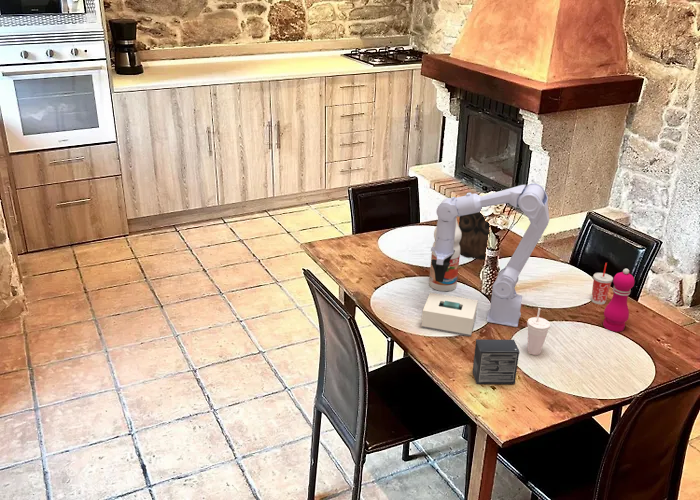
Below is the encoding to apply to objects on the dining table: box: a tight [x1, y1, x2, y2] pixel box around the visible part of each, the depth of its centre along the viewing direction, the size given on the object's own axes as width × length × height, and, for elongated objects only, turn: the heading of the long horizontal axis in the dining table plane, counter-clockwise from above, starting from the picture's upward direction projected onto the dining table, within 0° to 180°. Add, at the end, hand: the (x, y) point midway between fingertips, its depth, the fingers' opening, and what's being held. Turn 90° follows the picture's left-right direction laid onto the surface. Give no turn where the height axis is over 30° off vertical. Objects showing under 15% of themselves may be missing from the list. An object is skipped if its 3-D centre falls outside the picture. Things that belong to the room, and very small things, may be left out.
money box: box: [420, 292, 479, 337], centre depth 208 cm, size 15×12×6 cm
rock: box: [458, 212, 490, 261], centre depth 251 cm, size 13×13×20 cm
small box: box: [471, 338, 520, 385], centre depth 181 cm, size 11×6×10 cm, turn 92°
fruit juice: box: [428, 217, 462, 292], centre depth 226 cm, size 9×9×28 cm
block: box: [443, 301, 460, 310], centre depth 207 cm, size 4×2×6 cm, turn 73°
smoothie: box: [526, 307, 551, 356], centre depth 193 cm, size 6×6×14 cm
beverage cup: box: [590, 262, 614, 305], centre depth 222 cm, size 6×6×14 cm
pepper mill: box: [602, 268, 635, 333], centre depth 206 cm, size 7×7×20 cm
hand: (441, 276), depth 215 cm, fingers open, 7 cm apart
